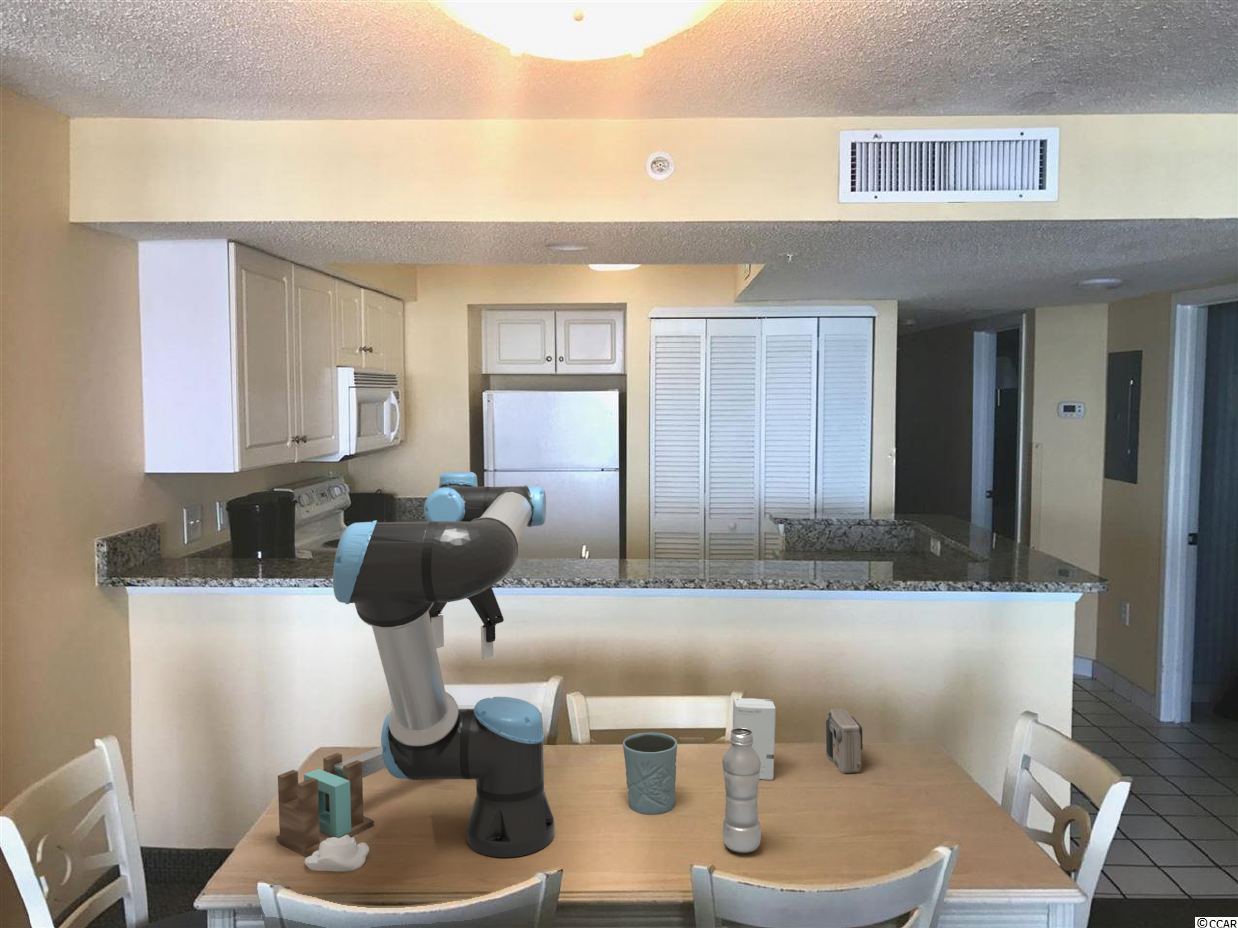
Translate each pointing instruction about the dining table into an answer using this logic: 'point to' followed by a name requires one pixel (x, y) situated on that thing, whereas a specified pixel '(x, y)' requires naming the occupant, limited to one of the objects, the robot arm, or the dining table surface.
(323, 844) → the white cowboy hat
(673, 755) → the drinking glass
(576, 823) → the dining table surface
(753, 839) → the plastic bottle
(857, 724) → the camera
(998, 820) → the dining table surface
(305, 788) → the block
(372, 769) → the shaft
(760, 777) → the skincare box
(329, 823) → the block
